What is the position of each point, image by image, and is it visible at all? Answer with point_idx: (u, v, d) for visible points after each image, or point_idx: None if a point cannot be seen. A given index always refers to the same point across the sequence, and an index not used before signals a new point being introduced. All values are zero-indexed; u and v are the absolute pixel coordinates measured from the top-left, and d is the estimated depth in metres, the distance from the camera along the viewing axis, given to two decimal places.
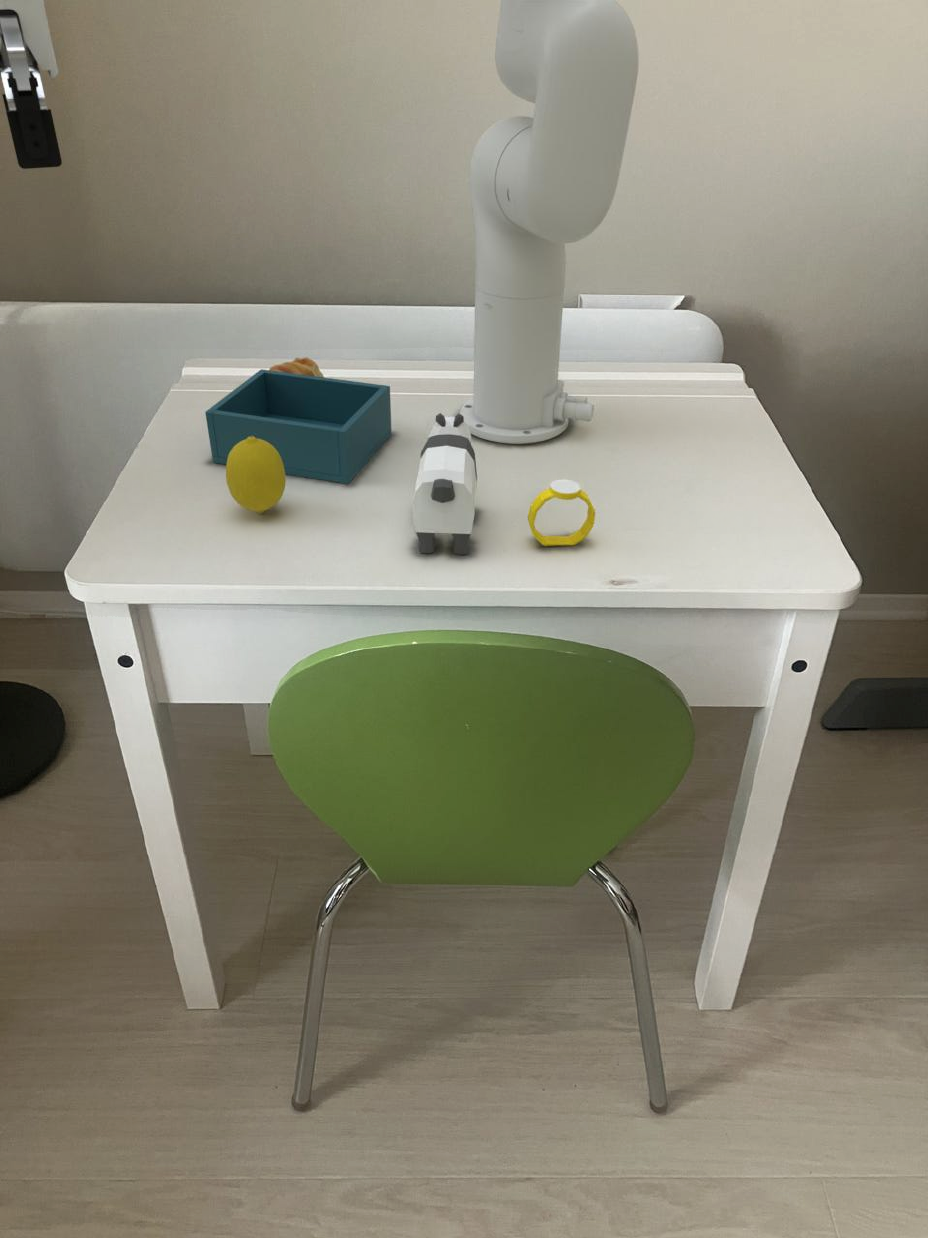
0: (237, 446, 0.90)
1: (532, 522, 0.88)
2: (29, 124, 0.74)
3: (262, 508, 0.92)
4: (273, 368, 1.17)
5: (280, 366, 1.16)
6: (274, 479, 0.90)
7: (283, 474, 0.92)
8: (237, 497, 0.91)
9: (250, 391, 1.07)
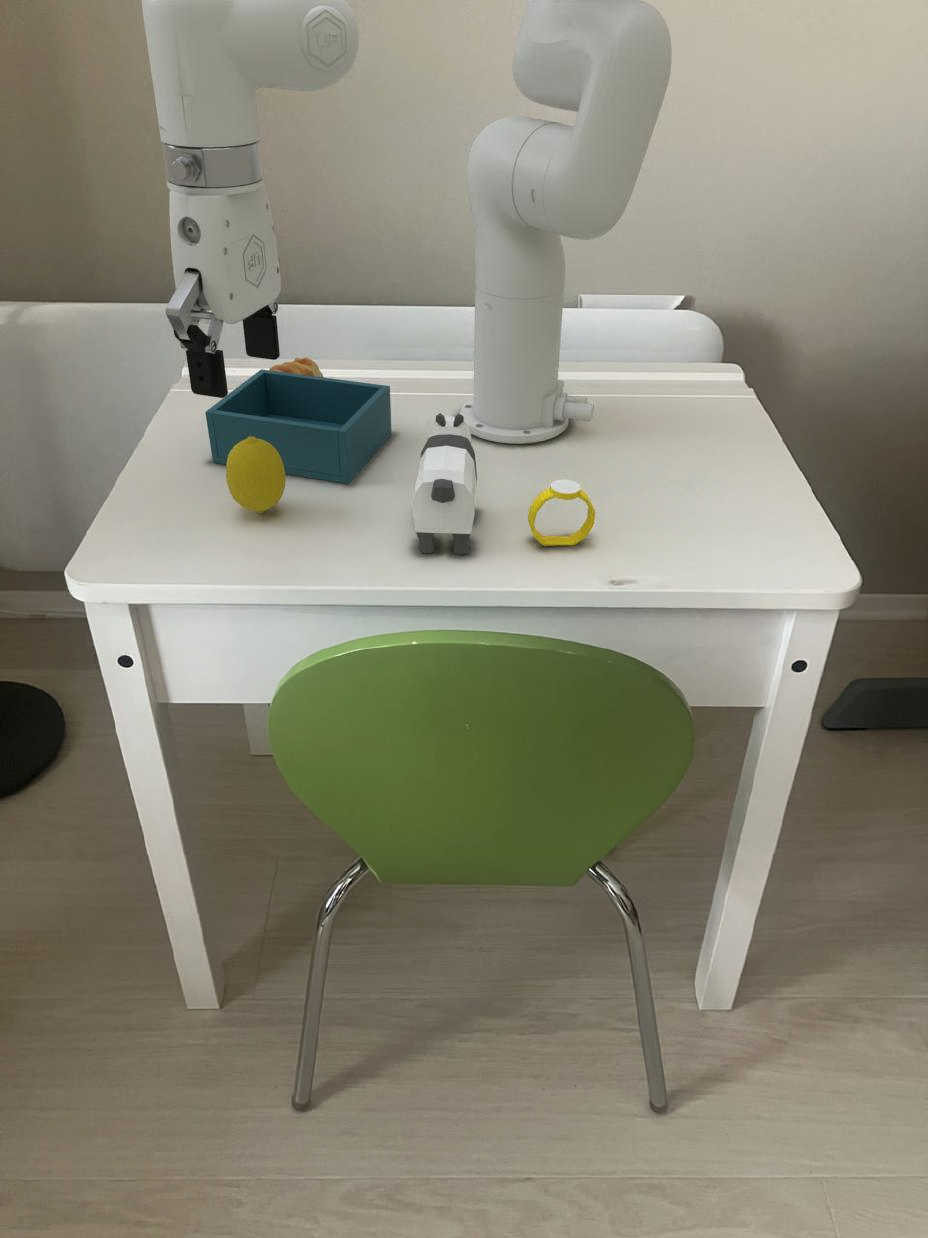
0: (237, 446, 0.90)
1: (532, 522, 0.88)
2: (197, 362, 0.80)
3: (262, 508, 0.92)
4: (273, 368, 1.17)
5: (280, 366, 1.16)
6: (274, 479, 0.90)
7: (283, 474, 0.92)
8: (237, 497, 0.91)
9: (250, 391, 1.07)
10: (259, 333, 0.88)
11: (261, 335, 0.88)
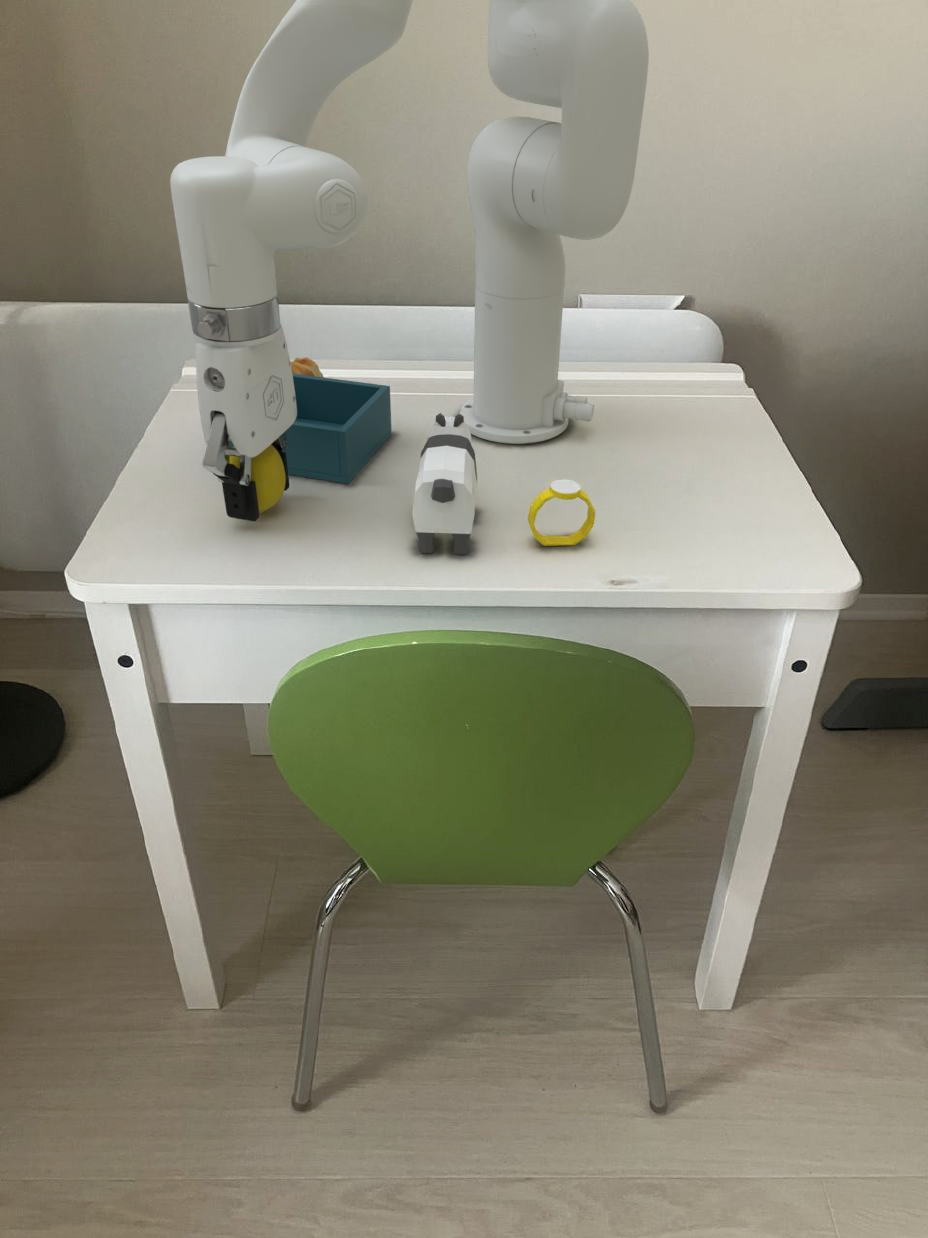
0: None
1: (532, 522, 0.88)
2: (233, 492, 0.89)
3: (262, 508, 0.92)
4: None
5: None
6: (274, 479, 0.90)
7: (283, 474, 0.92)
8: None
9: None
10: None
11: None
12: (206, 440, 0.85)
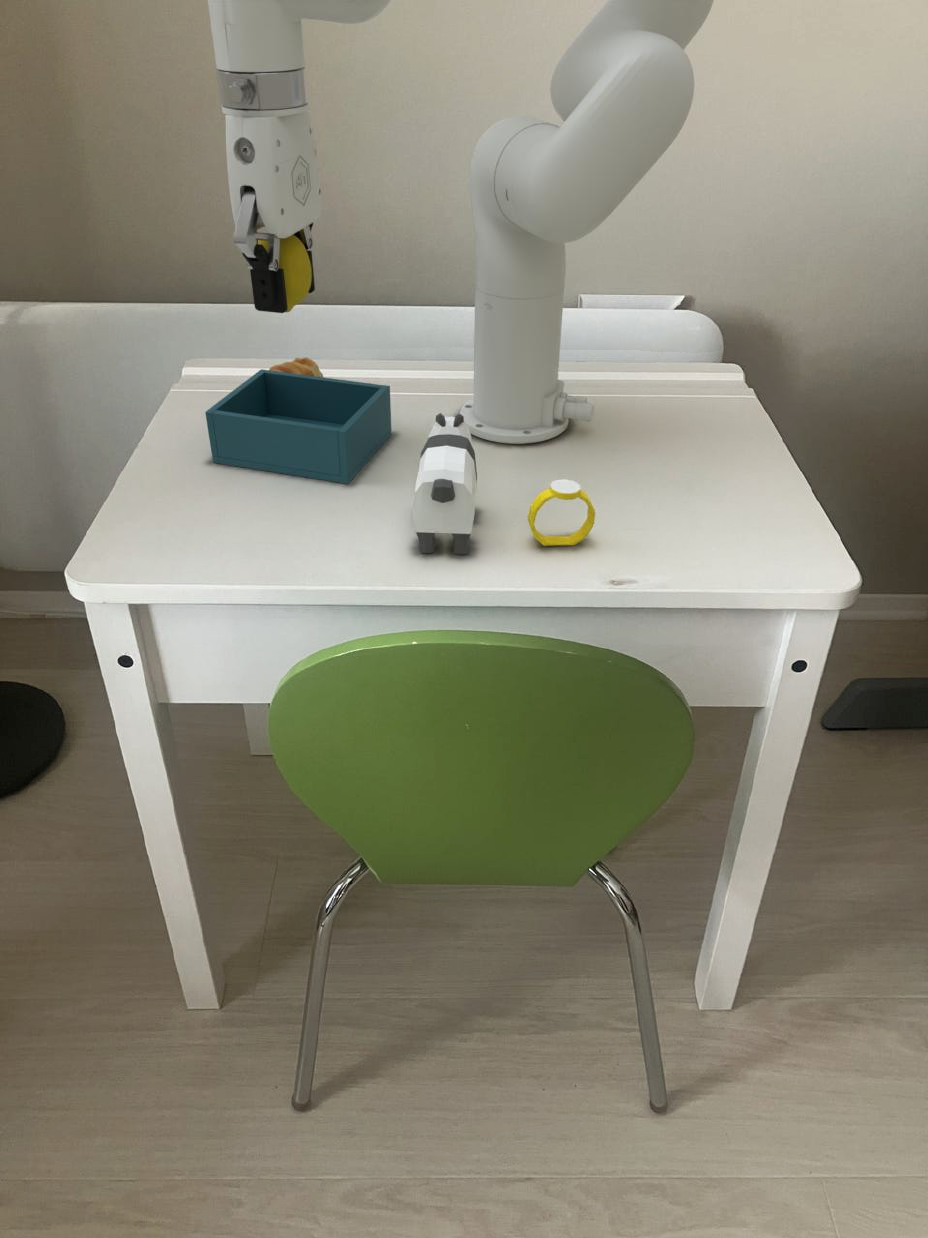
0: None
1: (532, 522, 0.88)
2: (261, 280, 0.90)
3: (289, 302, 0.93)
4: (273, 368, 1.17)
5: (280, 366, 1.16)
6: (301, 270, 0.91)
7: (309, 267, 0.93)
8: None
9: (250, 391, 1.07)
10: None
11: None
12: (235, 220, 0.86)
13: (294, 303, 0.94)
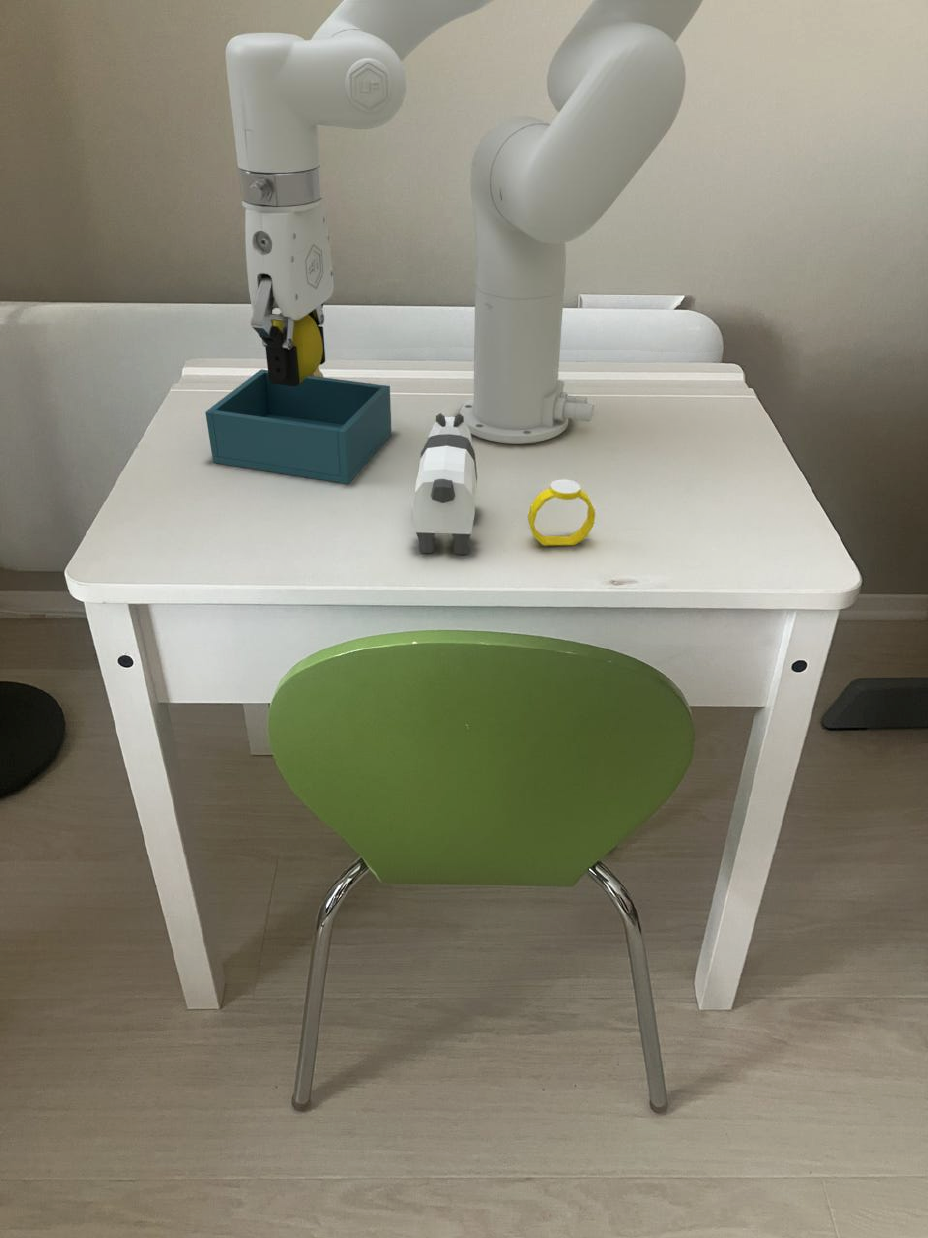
0: None
1: (532, 522, 0.88)
2: (276, 356, 0.96)
3: (301, 375, 1.00)
4: None
5: None
6: (313, 346, 0.98)
7: (321, 343, 0.99)
8: None
9: (250, 391, 1.07)
10: None
11: None
12: (253, 304, 0.93)
13: (306, 376, 1.00)
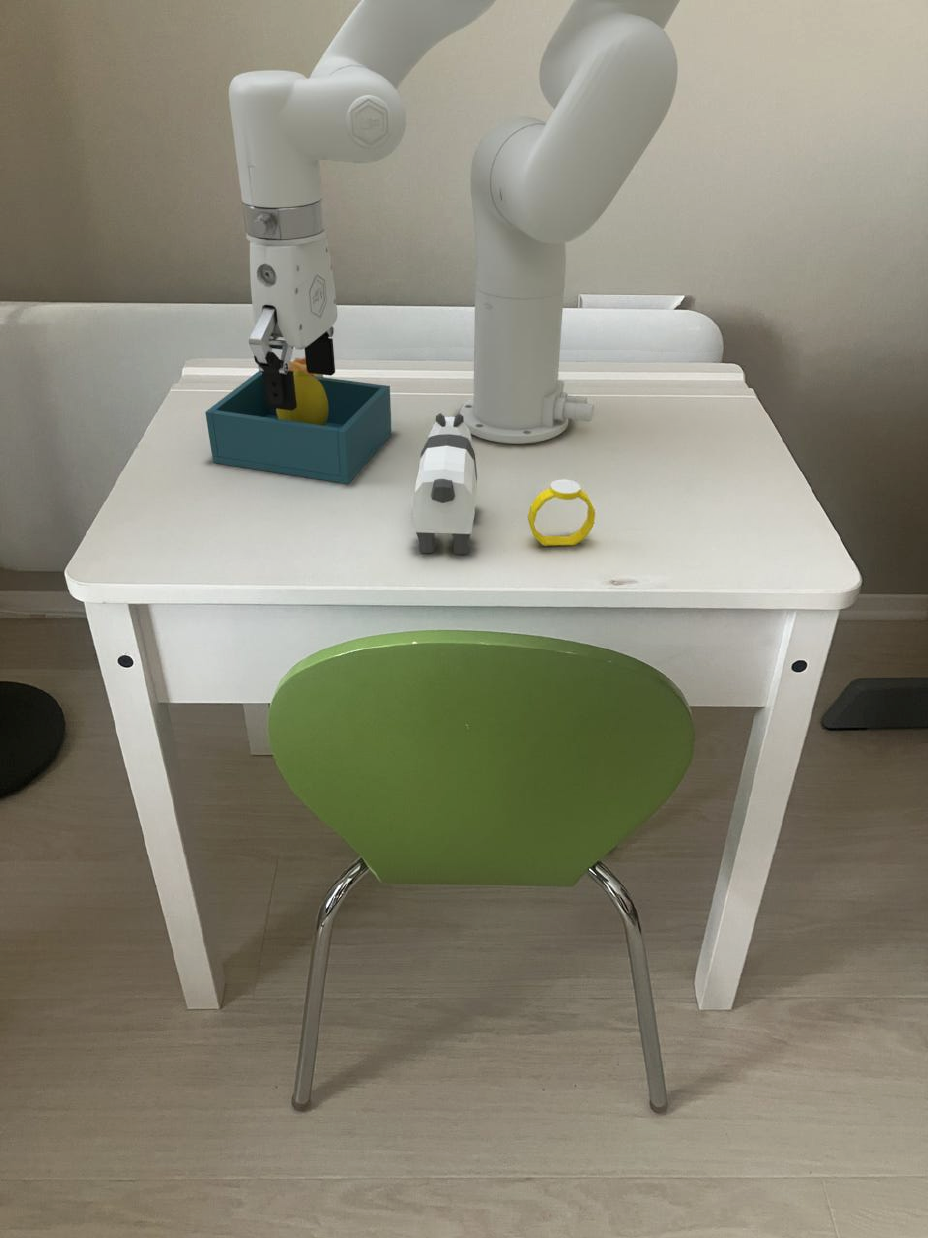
0: None
1: (532, 522, 0.88)
2: (272, 381, 0.96)
3: None
4: None
5: None
6: (320, 408, 1.02)
7: (327, 405, 1.03)
8: None
9: (250, 391, 1.07)
10: (318, 353, 1.04)
11: (320, 355, 1.05)
12: None
13: None
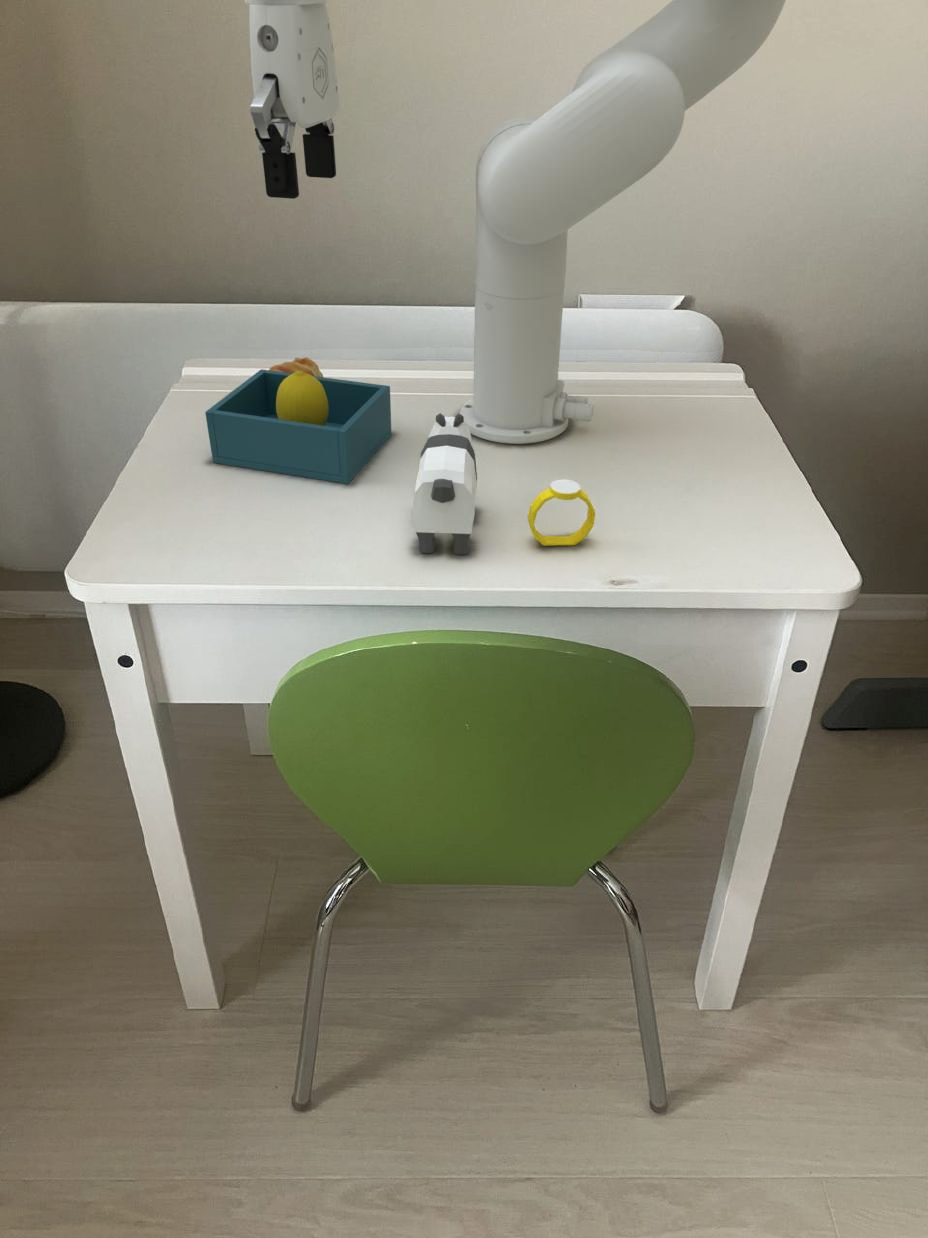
0: (287, 379, 1.01)
1: (532, 522, 0.88)
2: (273, 163, 0.91)
3: None
4: (273, 368, 1.17)
5: (280, 366, 1.16)
6: (320, 408, 1.02)
7: (327, 405, 1.03)
8: None
9: (250, 391, 1.07)
10: (318, 152, 1.00)
11: (320, 154, 1.00)
12: None
13: None
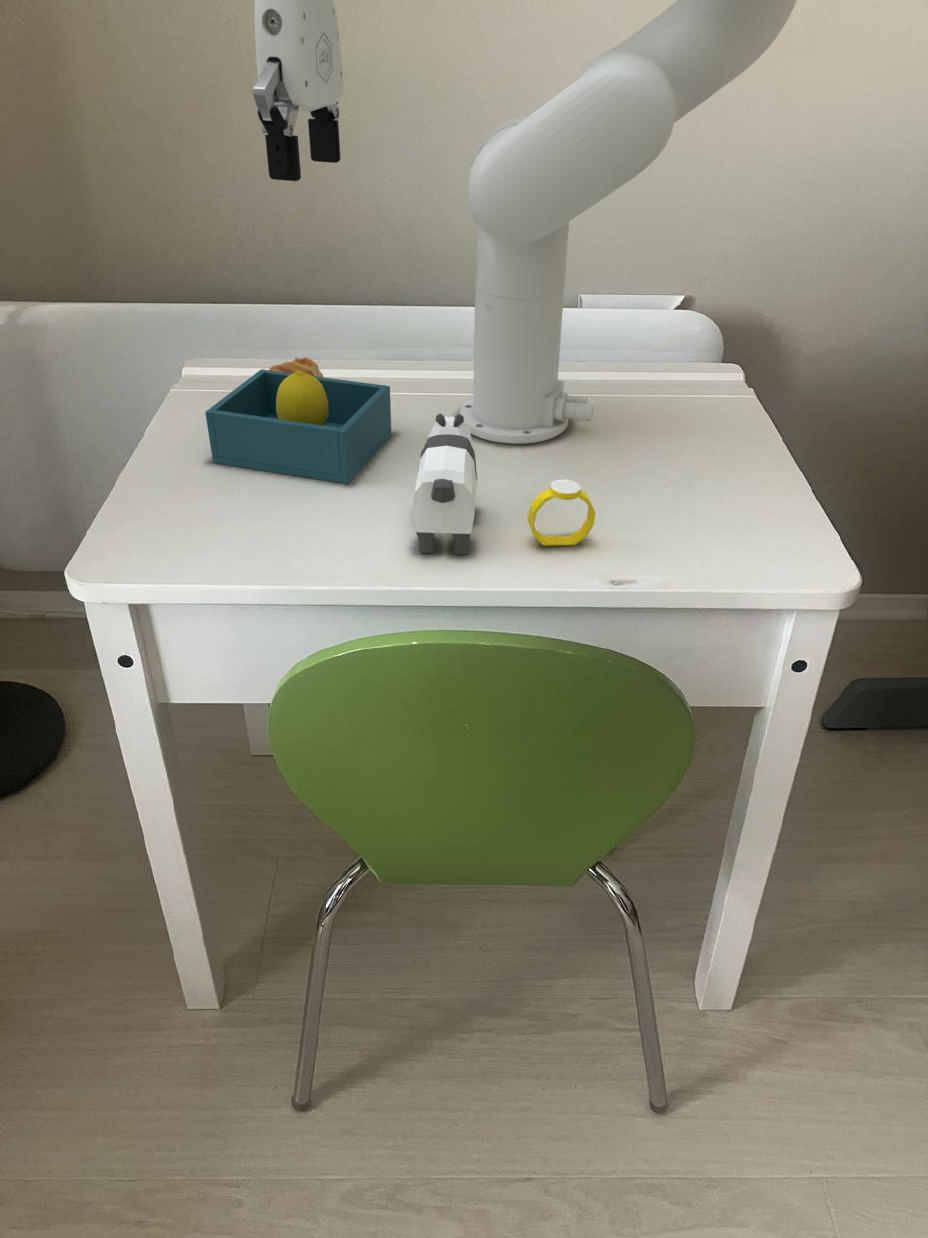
0: (287, 379, 1.01)
1: (532, 522, 0.88)
2: (276, 146, 0.93)
3: None
4: (273, 368, 1.17)
5: (280, 366, 1.16)
6: (320, 408, 1.02)
7: (327, 405, 1.03)
8: None
9: (250, 391, 1.07)
10: (323, 137, 1.01)
11: (325, 139, 1.01)
12: None
13: None
